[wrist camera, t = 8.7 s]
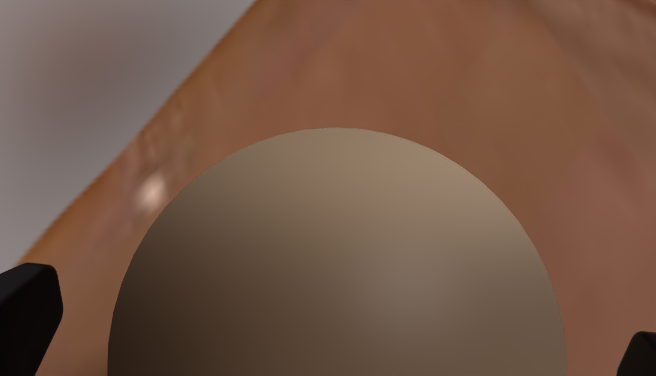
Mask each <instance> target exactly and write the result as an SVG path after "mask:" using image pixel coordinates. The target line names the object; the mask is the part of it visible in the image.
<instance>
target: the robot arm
mask: <svg viewBox="0 0 656 376" xmlns="http://www.w3.org/2000/svg"><path fill="white" fill-rule="evenodd" d="M62 315H63V302H62V297H61V291H60V286H59V280H58V275H57V271H56V270H55V268H54V267H53V266H51V265H47V264H39V263H24V264H21V265H19V266H17V267H14V268H12V269H10V270H8V271H5V272H3V273H1V274H0V376H35V374H36V372H37V370H38V368H39V366H40V364H41V361H42V359H43V357H44V355H45V353H46V351H47V349H48V347H49V345H50V343H51V341H52V339H53V336H54V334H55V332H56V330H57V328H58V326H59V324H60V322H61V319H62ZM617 376H656V333H655V332H646V331H640V332H637V333H636V334H635V335H634V336H633V337H632V339H631V341H630V343H629V345H628V348H627V350H626V352H625V354H624V356H623V358H622V361H621V363H620V365H619V367H618V370H617Z"/></svg>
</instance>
